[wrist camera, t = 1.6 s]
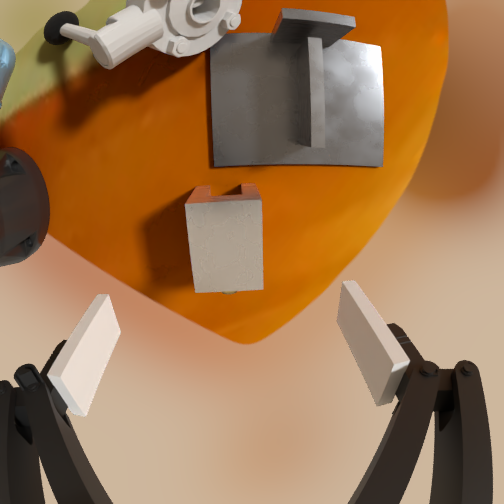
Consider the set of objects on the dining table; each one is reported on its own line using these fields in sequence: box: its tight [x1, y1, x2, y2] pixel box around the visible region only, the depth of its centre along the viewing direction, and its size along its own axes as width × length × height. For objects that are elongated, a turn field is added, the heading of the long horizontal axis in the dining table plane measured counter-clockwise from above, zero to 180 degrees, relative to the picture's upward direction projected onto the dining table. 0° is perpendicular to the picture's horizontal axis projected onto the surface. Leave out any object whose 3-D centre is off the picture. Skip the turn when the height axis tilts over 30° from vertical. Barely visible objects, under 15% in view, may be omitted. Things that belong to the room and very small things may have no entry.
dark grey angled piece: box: [210, 8, 384, 167], centre depth 22 cm, size 18×14×8 cm
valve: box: [44, 0, 242, 69], centre depth 18 cm, size 10×18×15 cm
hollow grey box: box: [185, 183, 263, 294], centre depth 28 cm, size 6×8×8 cm
